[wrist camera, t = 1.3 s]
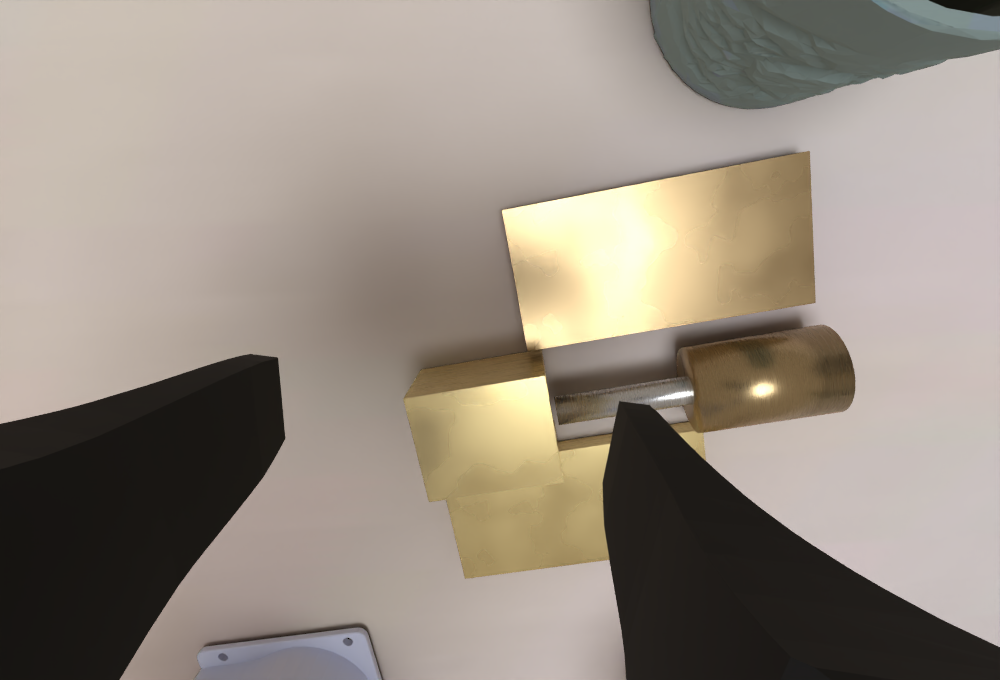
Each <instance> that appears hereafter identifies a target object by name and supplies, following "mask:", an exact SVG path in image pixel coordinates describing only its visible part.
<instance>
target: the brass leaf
mask: <svg viewBox="0 0 1000 680" xmlns="http://www.w3.org/2000/svg"><path fill="white" fill-rule="evenodd" d="M404 403H405V407H406V411H407V416H408V420H409V424H410V428H411V432H412V436H413V440H414V444H415V448H416V452H417V456H418V460H419V464H420V468H421V472H422V476H423V480H424V484H425V488H426V492H427V496H428V500H429V502H432V501H439V500H446V501H447V505H448V509H449V513H450V517H451V521H452V526H453V530H454V534H455V538H456V542H457V547H458V551H459V555H460V559H461V563H462V567H463V572H464V576H465V579H466V578H474V577H482V576H489V575H497V574H504V573H512V572H520V571H527V570H535V569H542V568H550V567H558V566H565V565H573V564H580V563H588V562H596V561H603V560H609V553H608V547H607V541H606V535H605V529H604V514H603V484H602V482H603V477H604V472H605V467H606V463H607V458H608V453H609V448H610V443H611V438H612V433H611V434H605V435H598V436H592V437H585V438H579V439H572V440H566V441H559V442H558V440H557V434H556V428H555V423H554V420H553V417H552V411H551V406H550V400H549V394H548V386H547V378H546V371H545V365H544V360H543V354H542V349H540V350H534V351H528V352H522V353H516V354H510V355H504V356H498V357H493V358H487V359H481V360H475V361H469V362H463V363H457V364H451V365H445V366H439V367H433V368H427V369H421V370H420V372H419V374H418V375H417V377H416V379H415V380H414V382H413V384H412V385H411V387H410V389H409V390H408V392H407V394H406V395H405V397H404ZM670 426H671V427H672V428H673V429H674V430H675V431H676V432H677V433H678V434H679V435H680V436H681V437H682V438H683V439H684V440H685V441H686V442H687V443H688V444H689V445H690V446H691V447H692V448H693V449H694V450H695V451H696V452H697V453H698V454H699V455H700V456H701V457H702V458H703V459H704V460H705V461H706V458H705V448H704V438H703V433H697V432H696V431H695V430H694V429H693V428H692V426H691V424H690V422H684V423H677V424H670Z"/></svg>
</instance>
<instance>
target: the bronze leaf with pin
mask: <svg viewBox="0 0 1000 680" xmlns="http://www.w3.org/2000/svg"><path fill="white" fill-rule="evenodd" d="M502 213H503V219H504V224H505V230H506V235H507V241H508V246H509V252H510V257H511V263H512V268H513V274H514V279H515V285H516V290H517V296H518V301H519V307H520V312H521V318H522V323H523V329H524V334H525V340H526V346H527V351H532V350H538V349H544V348H550V347H556V346H562V345H568V344H574V343H580V342H586V341H592V340H598V339H604V338H609V337H615V336H621V335H627V334H633V333H639V332H645V331H651V330H657V329H663V328H669V327H675V326H681V325H687V324H693V323H698V322H704V321H710V320H716V319H722V318H728V317H734V316H740V315H746V314H752V313H758V312H764V311H770V310H776V309H782V308H787V307H793V306H799V305H805V304H811V303H815V277H814V251H813V225H812V199H811V174H810V151H807V152H801V153H795V154H790V155H785V156H780V157H774V158H769V159H764V160H759V161H754V162H749V163H743V164H738V165H733V166H728V167H723V168H718V169H712V170H707V171H702V172H697V173H692V174H686V175H681V176H676V177H671V178H666V179H661V180H655V181H650V182H645V183H640V184H635V185H630V186H624V187H619V188H614V189H609V190H604V191H598V192H593V193H588V194H583V195H578V196H573V197H567V198H562V199H557V200H552V201H547V202H542V203H536V204H531V205H526V206H521V207H516V208H510V209H505V210H502ZM854 394H855V374H854V368H853V364H852V360H851V357H850V355H849V352H848V350H847V348H846V346H845V344H844V342H843V341H842V339H841V338H840V336H839V335H838V334H837V333H836V332H835V331H834V330H833V329H831V328H830V327H828V326H826V325H816V326H810V327H804V328H798V329H792V330H786V331H780V332H774V333H767V334H761V335H755V336H749V337H743V338H737V339H731V340H725V341H719V342H713V343H707V344H701V345H695V346H689V347H683V348H680V349H679V351H678V354H677V377H676V378H670V379H664V380H658V381H651V382H645V383H639V384H633V385H626V386H620V387H614V388H608V389H601V390H595V391H589V392H583V393H576V394H570V395H564V396H558V397H554V399H555V405H556V410H557V416H558V422H559V425H563V424H569V423H575V422H582V421H588V420H595V419H601V418H608V417H614V416H616V414H617V409H618V404H619V401H623V402H631V403H638V404H646V405H650V406H651V407H652V408H653V409H654V410H659V409H666V408H672V407H679V406H684V410H685V412H686V415H687V418H688V420H689V422H690V424H691V426H692V428H693V429H694V430H695V431H696V432H697V433H704V432H711V431H718V430H724V429H731V428H737V427H744V426H751V425H757V424H764V423H771V422H777V421H784V420H791V419H797V418H804V417H811V416H817V415H824V414H831V413H837V412H843V411H845V410H847V409H848V408H849V407H850V405H851V403H852V401H853V398H854Z"/></svg>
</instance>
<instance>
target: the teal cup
mask: <svg viewBox="0 0 1000 680" xmlns="http://www.w3.org/2000/svg"><path fill="white" fill-rule="evenodd" d="M650 7H651V18H652V23H653V26H654V30H655V33H654V38H655V40H656V41H657V43H658V45H659V46H660V48H661V50H662V52H663V54H664V58H665V59H666V60H667V61H668V62H669V64H670V65H671V67H672V70H674V71H675V72H676V73H677V74H678V75H679V77H680V78H681V79H682V80H683V81H684V82H685V83H686V84H687V85H689V86H690V87H691V88H692V89H694V90H695V91H696V92H697V93H699V94H701V95H703V96H704V97H706V98H708V99H710V100H712V101H715V102H717V103H719V104H723V105H726V106H730V107H737V108H743V109H762V108H770V107H776V106H780V105H784V104H788V103H792V102H796V101H799V100H803V99H806V98H809V97H813V96H815V95H821V94H825V93H829V92H831V91H833V90H834V89H836V88H839V87H843V86H847V85H850V84H861V83H864V82H866V81H868V80H871V79H873V78H877V77H878V78H882V79H884V78H887V77H889V76H892V75H894V74H900V75H901V74H905V73H909V72H912V71H915V70H920V69H923V68H927V67H931V66H934V65H937V64H940V63H942V62H945V61H946V60H947V59H953V58H961V57H969V56H973V55H977V54H982V53H986V52H990V51H995V50H999V49H1000V0H650Z"/></svg>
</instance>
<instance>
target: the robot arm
mask: <svg viewBox="0 0 1000 680" xmlns="http://www.w3.org/2000/svg"><path fill="white" fill-rule="evenodd" d="M284 440H285V431H284V420H283V409H282V397H281V386H280V375H279V364H278V358H277V357H269V356H261V355H253V354H249V355H243V356H239V357H235V358H231V359H227V360H224V361H220V362H217V363H214V364H211V365H208V366H204V367H201V368H198V369H195V370H192V371H189V372H186V373H183V374H180V375H177V376H174V377H171V378H168V379H165V380H162V381H159V382H156V383H153V384H150V385H147V386H143V387H140V388H137V389H133V390H130V391H127V392H123V393H120V394H117V395H113V396H110V397H107V398H104V399H100V400H97V401H94V402H90V403H86V404H83V405H79V406H75V407H72V408H68V409H64V410H60V411H56V412H52V413H47V414H43V415H39V416H34V417H30V418H26V419H21V420H17V421H12V422H7V423H2V424H0V680H119V679H120V678H121V676H122V674H123V673H124V671H125V669H126V668H127V666H128V665H129V663H130V661H131V660H132V658H133V656H134V655H135V653H136V651H137V650H138V648H139V646H140V645H141V643H142V642H143V640H144V638H145V637H146V635H147V633H148V632H149V630H150V629H151V627H152V626H153V624H154V622H155V621H156V619H157V618H158V616H159V615H160V613H161V612H162V610H163V609H164V607H165V606H166V604H167V602H168V601H169V599H170V598H171V596H172V595H173V593H174V592H175V590H176V589H177V587H178V586H179V584H180V583H181V581H182V580H183V579H184V577H185V576H186V575H187V573H188V572H189V571H190V569H191V568H192V566H193V565H194V564H195V563H196V561H197V560H198V559H199V558H200V556H201V555H202V554H203V553H204V551H205V550H206V549H207V548H208V546H209V545H210V544H211V543H212V541H213V540H214V539H215V538H216V536H217V535H218V534H219V533H220V531H221V530H222V529H223V528H224V526H225V525H226V524H227V523H228V521H229V520H230V519H231V518H232V516H233V515H234V514H235V513H236V511H237V510H238V509H239V508H240V506H241V505H242V504H243V503H244V501H245V500H246V499H247V497H248V496H249V495H250V494H251V492H252V491H253V490H254V489H255V487H256V486H257V485H258V483H259V482H260V481H261V479H262V478H263V477H264V475H265V473H266V472H267V470H268V468H269V467H270V465H271V463H272V462H273V460H274V458H275V457H276V455H277V453H278V451H279V449H280V447H281V446H282V444H283V442H284ZM602 484H603V514H604V529H605V535H606V541H607V547H608V553H609V560H610V565H611V571H612V577H613V583H614V589H615V595H616V600H617V606H618V612H619V618H620V624H621V630H622V638H623V645H624V653H625V666H626V680H1000V647H998V646H996V645H994V644H992V643H989V642H987V641H985V640H983V639H981V638H979V637H977V636H975V635H973V634H970V633H968V632H966V631H964V630H962V629H960V628H958V627H956V626H954V625H951V624H949V623H947V622H945V621H943V620H941V619H939V618H937V617H935V616H934V615H932V614H930V613H928V612H926V611H924V610H922V609H921V608H919V607H917V606H915V605H913V604H911V603H909V602H908V601H906V600H904V599H902V598H900V597H898V596H896V595H895V594H893V593H891V592H889V591H887V590H885V589H884V588H882V587H880V586H878V585H877V584H875V583H873V582H871V581H870V580H868V579H866V578H865V577H863V576H861V575H859V574H858V573H856V572H854V571H853V570H851V569H849V568H848V567H846V566H845V565H843V564H841V563H840V562H838V561H837V560H835V559H833V558H832V557H830V556H829V555H827V554H826V553H824V552H822V551H821V550H819V549H818V548H816V547H814V546H813V545H811V544H810V543H808V542H807V541H805V540H804V539H802V538H801V537H800V536H798V535H797V534H795V533H794V532H792V531H791V530H789V529H788V528H787V527H785V526H784V525H783V524H781V523H780V522H779V521H777V520H776V519H775V518H773V517H772V516H771V515H769V514H768V513H766V512H765V511H764V510H762V509H761V508H760V507H758V506H757V505H756V504H755V503H753V502H752V501H751V500H750V499H748V498H747V497H746V496H745V495H743V494H742V493H741V492H740V491H739V490H738V489H737V488H735V487H734V486H733V485H732V484H731V483H730V482H728V481H727V480H726V479H725V478H724V477H723V476H722V475H720V474H719V473H718V472H717V471H716V470H715V469H714V468H713V467H712V466H711V465H710V464H708V463H707V462H706V461H705V460H704V459H703V458H702V457H701V456H700V455H699V454H698V453H697V452H696V451H695V450H694V449H693V448H692V447H691V446H690V445H689V444H688V443H687V442H686V441H685V440H684V439H683V438H682V437H681V436H680V435H679V434H678V433H677V432H676V431H675V430H674V429H673V428H672V427H671V426H670V425H669V424H668V423H667V422H666V421H665V420H664V419H663V417H662V416H661V415H660V414H659V413H658V412H657V411H656V410H654V409H653V408H652V407H651V406H650V405H646V404H638V403H631V402H623V401H619V404H618V409H617V414H616V419H615V423H614V428H613V433H612V438H611V443H610V448H609V453H608V458H607V463H606V467H605V472H604V477H603V482H602ZM347 638H350V639H352V640H349V639H347ZM197 660H198V662H199V665H200V667H201V670H200V671H199V673H198V674H197V676H196V677H195V678H194V680H382V678H381V675H380V672H379V668H378V665H377V662H376V659H375V655H374V652H373V649H372V645H371V642H370V639H369V635H368V633H367V631H366V630H364V629H362V628H350V629H342V630H334V631H326V632H318V633H310V634H302V635H294V636H286V637H278V638H270V639H262V640H254V641H246V642H238V643H230V644H222V645H214V646H206V647H203V648H202V649H201V650H200V652H199V653H198V655H197Z"/></svg>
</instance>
